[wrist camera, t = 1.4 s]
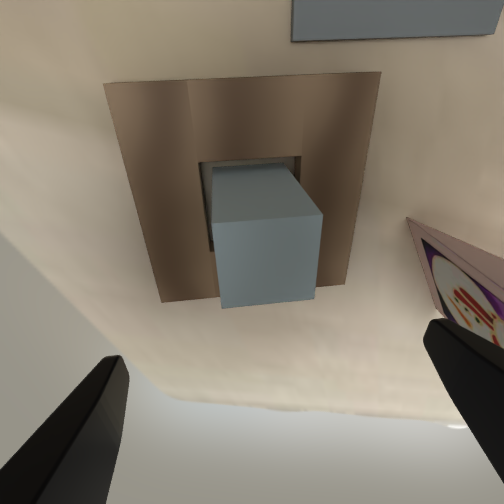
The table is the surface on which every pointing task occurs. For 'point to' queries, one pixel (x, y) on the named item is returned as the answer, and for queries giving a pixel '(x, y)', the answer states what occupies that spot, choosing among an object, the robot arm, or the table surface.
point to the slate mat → (392, 19)
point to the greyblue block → (263, 235)
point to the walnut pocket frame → (237, 148)
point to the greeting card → (463, 281)
